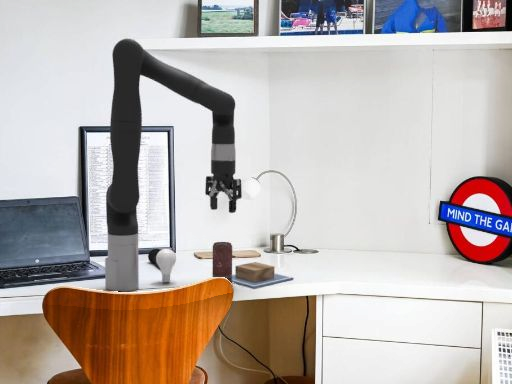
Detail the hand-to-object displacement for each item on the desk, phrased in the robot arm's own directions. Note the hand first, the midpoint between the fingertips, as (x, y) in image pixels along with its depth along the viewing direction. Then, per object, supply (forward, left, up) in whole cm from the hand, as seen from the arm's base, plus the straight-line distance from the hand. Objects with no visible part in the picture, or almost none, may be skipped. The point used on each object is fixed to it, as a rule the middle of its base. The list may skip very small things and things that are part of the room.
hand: (223, 211), depth 207 cm
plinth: (+14, 0, -24) cm, 27 cm away
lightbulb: (-10, +16, -24) cm, 31 cm away
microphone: (+1, +36, -25) cm, 43 cm away
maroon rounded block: (0, 0, -24) cm, 24 cm away
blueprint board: (+15, 0, -24) cm, 28 cm away
